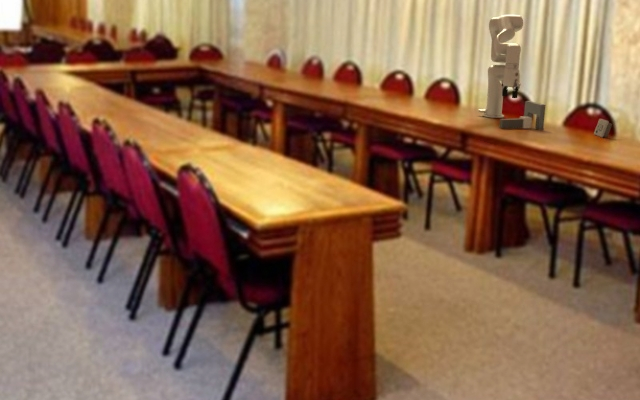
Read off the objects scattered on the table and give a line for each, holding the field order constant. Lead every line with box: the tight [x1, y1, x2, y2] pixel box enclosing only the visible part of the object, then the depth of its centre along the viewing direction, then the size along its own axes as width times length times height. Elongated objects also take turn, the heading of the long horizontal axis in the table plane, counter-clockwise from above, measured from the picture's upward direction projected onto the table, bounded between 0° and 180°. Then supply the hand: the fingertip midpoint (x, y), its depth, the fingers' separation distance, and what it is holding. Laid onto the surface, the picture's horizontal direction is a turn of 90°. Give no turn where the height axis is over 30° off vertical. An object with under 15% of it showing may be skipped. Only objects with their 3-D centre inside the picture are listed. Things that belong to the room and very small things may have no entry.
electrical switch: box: [593, 118, 613, 138], centre depth 475 cm, size 9×5×9 cm, turn 10°
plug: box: [498, 115, 533, 130], centre depth 494 cm, size 18×5×6 cm, turn 110°
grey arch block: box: [523, 100, 546, 130], centre depth 497 cm, size 3×16×14 cm, turn 20°
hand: (509, 97), depth 489 cm, fingers open, 9 cm apart
